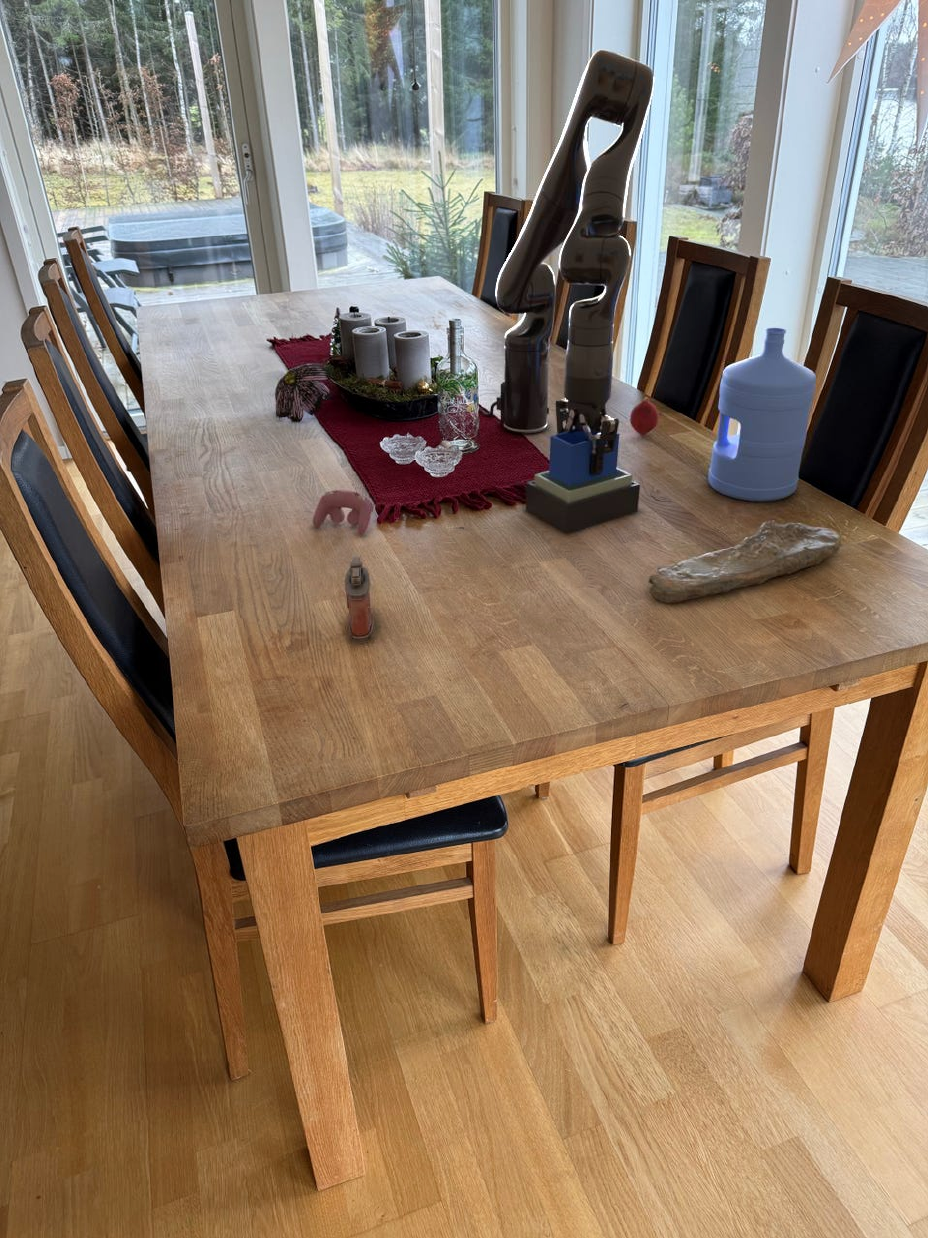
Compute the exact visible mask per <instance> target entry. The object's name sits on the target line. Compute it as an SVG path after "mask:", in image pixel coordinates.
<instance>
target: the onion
mask: <svg viewBox="0 0 928 1238" xmlns="http://www.w3.org/2000/svg"><path fill="white" fill-rule="evenodd" d="M629 423H630V425H631V428H633V430H634V431H635V432H636V433H638V434H639V435H640V436H645V435H647V434H648V433H650V432H651V431H653V430H654V429H655V428H656V426H657V425H658V423H659V412H658V409H657V408H656V406H655V405H654V404H653V403H651V402H650V398H649V397H647V396H646V397H644V398H643V400H642V401H641V402H639V403H637V404H636V405H635V406H634V407H633V408H632V410H631V412H630V417H629Z"/></svg>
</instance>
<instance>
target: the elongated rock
mask: <svg viewBox="0 0 928 1238" xmlns="http://www.w3.org/2000/svg"><path fill="white" fill-rule="evenodd" d="M841 545H842V540H841V536H840V534H838V533H837V532H836V531H834V530H832V529H830V528H827V527H821V526H820V527H819V526H818V527H817V526H816V527H814V526H810V525H808V524H804V523H801V522H788V523H777V521H776V520H775V519H773V520H771V521H770V520H766V521H764V522H763V523H762V524H761V525H760V526H759V530H758V531H756V532H755V533H754V534H753V535H752V536H747V537H744V539H742V541H741V542H740V543H739V544H737V545H732V546H730V547H728V548H721V549H718V550H713V551H709V552H707V553H705V554H702V555H699V556H698V555H697V556H693V557H691V558H687V559H685V560H681V561H677V562H675V563H673V564H671V565H668V566H666V565H664V566H659V567H658V568H657V571H655V573H653V574H652V575H649V577H648V583H649V585H651V586H650V588H649V592H650V595H651V596H652V597H653V598H654V599H656V600H657V601H659V602H663V603H665V604H675V603H679V602H683V601H687V600H689V599H698V598H703V597H705V596H710V595H711V596H712V595H716V594H722V593H723V594H724V593H728V592H730V591H731V590H734V589H740V588H746V587H749V586H754V585H760V584H764V583H765V582H766V581H768V580H770V579H772V578H776V577H779V576H780V577H781V576H782V575H790V574H793V573H795V572H798V571H799V570H801V569H805V568H808V567H812V566H817V565H819V564H821V563H822V562H823V560H825V559H828V558H830V557H832V556H834V554H836V553H837V552H839V550H840V549H841Z"/></svg>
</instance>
